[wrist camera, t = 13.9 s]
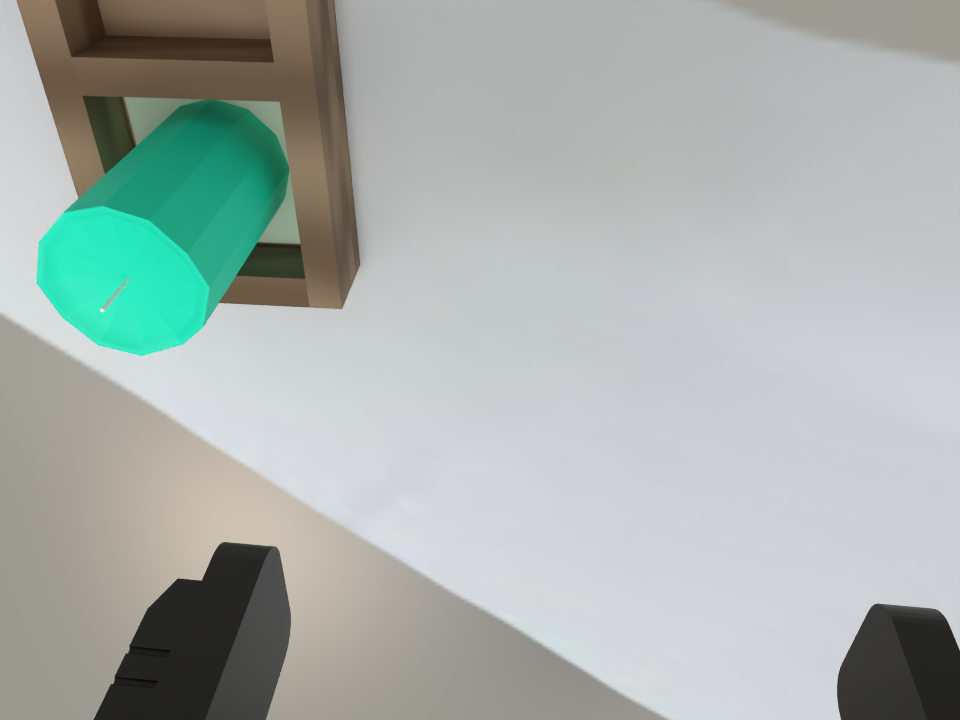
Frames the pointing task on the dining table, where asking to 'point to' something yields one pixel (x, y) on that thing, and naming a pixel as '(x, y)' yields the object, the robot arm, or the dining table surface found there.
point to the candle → (165, 229)
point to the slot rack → (225, 77)
